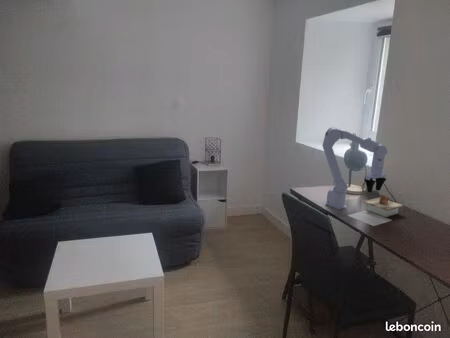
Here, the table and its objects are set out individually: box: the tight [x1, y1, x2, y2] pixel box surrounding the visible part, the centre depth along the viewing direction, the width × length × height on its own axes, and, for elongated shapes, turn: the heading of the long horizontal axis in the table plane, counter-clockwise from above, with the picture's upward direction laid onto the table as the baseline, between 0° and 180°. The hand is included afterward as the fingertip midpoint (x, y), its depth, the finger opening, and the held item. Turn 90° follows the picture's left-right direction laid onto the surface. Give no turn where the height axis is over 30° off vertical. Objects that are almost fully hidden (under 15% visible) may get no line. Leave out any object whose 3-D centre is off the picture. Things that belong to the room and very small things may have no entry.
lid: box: [363, 194, 404, 211], centre depth 183 cm, size 14×14×5 cm
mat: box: [346, 209, 393, 227], centre depth 176 cm, size 16×16×1 cm
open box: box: [366, 204, 399, 218], centre depth 184 cm, size 11×11×4 cm
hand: (373, 191), depth 187 cm, fingers open, 7 cm apart
